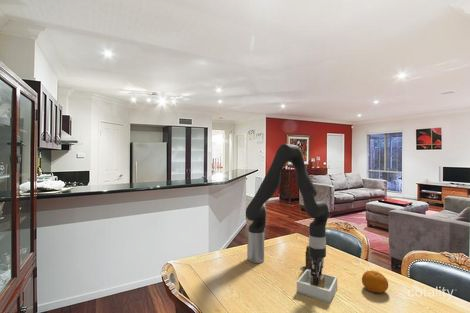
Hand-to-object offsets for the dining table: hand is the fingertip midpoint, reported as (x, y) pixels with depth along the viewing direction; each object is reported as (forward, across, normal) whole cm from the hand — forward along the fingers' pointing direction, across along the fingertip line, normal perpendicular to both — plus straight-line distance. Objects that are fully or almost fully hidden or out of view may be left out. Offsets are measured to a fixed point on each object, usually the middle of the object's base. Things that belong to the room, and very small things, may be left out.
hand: (317, 281), depth 111 cm
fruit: (+4, -15, +22) cm, 27 cm away
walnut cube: (+2, 0, 0) cm, 2 cm away
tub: (+4, 0, 0) cm, 4 cm away
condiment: (+4, -19, -9) cm, 21 cm away
